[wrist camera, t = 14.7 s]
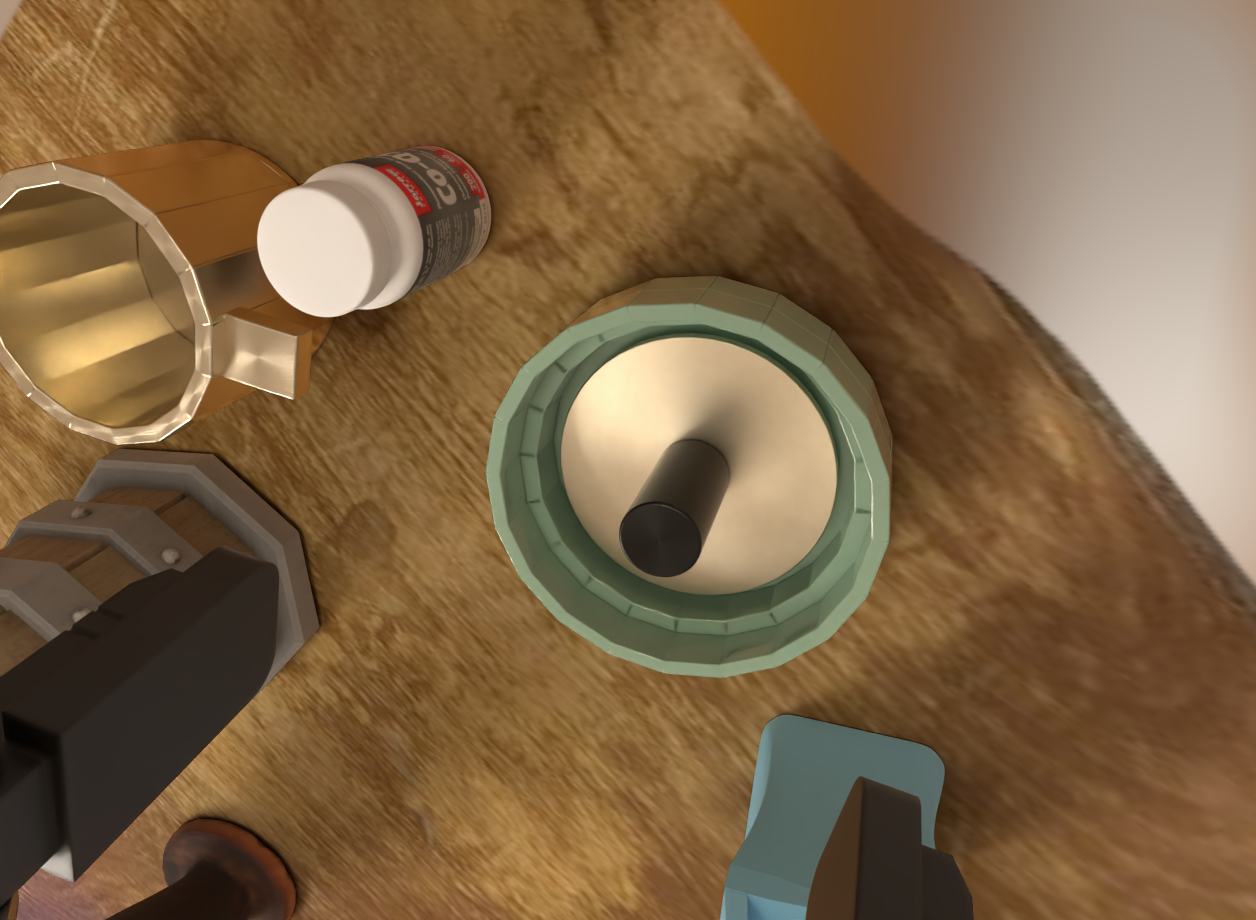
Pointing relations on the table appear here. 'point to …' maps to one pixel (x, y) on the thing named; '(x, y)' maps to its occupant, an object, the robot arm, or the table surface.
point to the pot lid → (699, 464)
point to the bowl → (642, 611)
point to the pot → (146, 289)
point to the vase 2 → (814, 807)
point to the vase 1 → (217, 878)
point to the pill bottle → (373, 230)
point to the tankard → (142, 546)
